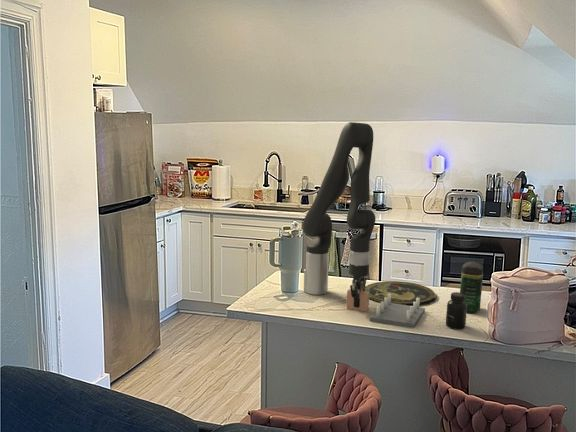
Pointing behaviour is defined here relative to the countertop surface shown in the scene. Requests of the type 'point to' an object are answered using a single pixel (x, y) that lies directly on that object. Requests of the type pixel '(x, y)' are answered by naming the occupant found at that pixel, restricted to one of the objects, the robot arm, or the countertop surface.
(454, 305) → the supplement bottle
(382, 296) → the decorative plate
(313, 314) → the countertop surface
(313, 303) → the countertop surface
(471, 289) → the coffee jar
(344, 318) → the countertop surface
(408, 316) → the dish rack
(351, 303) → the tile
